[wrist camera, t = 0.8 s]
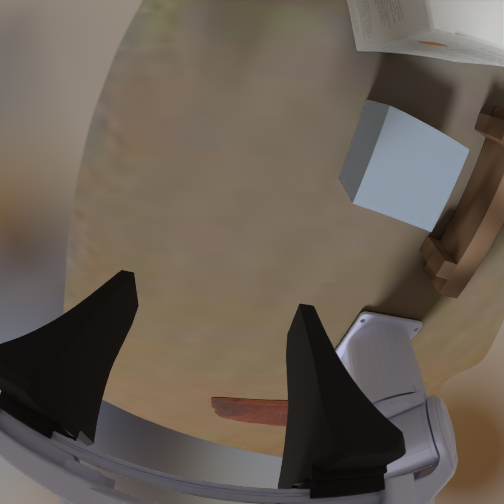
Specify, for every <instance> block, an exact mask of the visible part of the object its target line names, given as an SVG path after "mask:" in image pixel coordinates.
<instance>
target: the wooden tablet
mask: <svg viewBox="0 0 504 504" xmlns="http://www.w3.org/2000/svg"><path fill="white" fill-rule="evenodd" d="M211 403H212V407H213V408H214V409H215V413H216V414H217V415H218V416H220V417H223V418H227V419H231V420H236V421H242V422H248V423H259V424H266V425H275V426H287V414H288V401H282V400H256V399H239V398H212V399H211Z"/></svg>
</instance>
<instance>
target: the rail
mask: <svg viewBox="0 0 504 504" xmlns="http://www.w3.org/2000/svg"><path fill="white" fill-rule="evenodd" d="M475 129H476V130H477V131H478V132H480V133H481V134H483V135H484V136H485V137H486V140H485V142H484V145H483V148H482V151H481V153H480V156H479V159H478V161H477V164H476V166H475V169H474V171H473V173H472V176H471V178H470V181H469V183H468V185H467V187H466V190H465V192H464V194H463V196H462V198H461V200H460V203H459V205H458V207H457V209H456V211H455V213H454V215H453V217H452V219H451V221H450V223H449V225H448V227H447V228H446V230H445V232H444V234H443V236H442V238H441V240H440V241H439V240H437V239H434V238H431V237H429V236H428V237H427V238H426V240H425V242H424V244H423V246H422V248H421V249H420V252H421V253H422V255H423V257H424V258H425V260H426V261H427V264H426V265H425V267H424V269H425V271H426V273H427V274H428V276H429V278H430V280H431V281H432V283H433V285H434V287H435V289H436V290H437V292H438V294H441V295H445V296H449V297H453V298H458V296H459V295H460V293H461V292H462V291H463V289H464V288H465V286H466V285H467V283H468V282H469V280H470V279H471V277H472V276H473V274H474V273H475V271H476V270H477V268H478V267H479V265H480V263H481V262H482V260H483V259H484V257H485V255H486V254H487V252H488V250H489V248H490V247H491V245H492V243H493V241H494V240H495V238H496V236H497V234H498V232H499V230H500V229H501V227H502V225H503V223H504V108H502V107H498V106H496V108H495V111H494V115H493V117H492V116H489V115H486V114H483V113H480V114H479V117H478V120H477V123H476V126H475Z"/></svg>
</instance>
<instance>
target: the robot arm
mask: <svg viewBox="0 0 504 504" xmlns="http://www.w3.org/2000/svg"><path fill="white" fill-rule="evenodd" d="M138 306H139V305H138V299H137V292H136V284H135V277H134V273H133V272H129V271H124V270H121V271H120V272H119V273H117V274H116V275H115V276H114V277H112V278H111V279H110V280H109V281H107V282H106V283H105V284H104V285H102V286H101V287H100V288H99V289H97V290H96V291H95V292H94V293H92V294H91V295H90V296H88V297H87V298H86V299H85V300H83V301H82V302H80V303H79V304H78V305H76V306H75V307H74V308H72V309H71V310H69V311H68V312H66V313H65V314H63V315H62V316H60V317H59V318H57V319H56V320H54V321H52V322H50V323H48V324H46V325H45V326H43V327H41V328H39V329H37V330H35V331H33V332H31V333H29V334H26V335H24V336H22V337H19V338H16V339H14V340H11V341H8V342H5V343H2V344H0V390H1V394H0V456H1V457H2V458H3V459H5V460H6V461H7V462H9V463H10V464H11V465H12V466H14V467H15V468H16V469H18V470H19V471H21V472H22V473H23V474H24V475H26V476H27V477H29V478H30V479H32V480H33V481H35V482H36V483H38V484H39V485H41V486H42V487H44V488H45V489H47V490H49V491H50V492H52V493H54V494H55V495H57V496H59V497H60V498H61V501H60V504H160V503H156V502H152V501H149V500H145V499H142V498H138V497H135V496H132V495H129V494H126V493H123V492H120V491H117V490H115V489H114V485H115V480H113V479H111V478H109V477H107V476H105V475H103V474H101V473H100V472H99V471H96V470H94V469H92V468H90V467H88V466H85V465H83V464H81V463H80V461H79V460H78V459H80V460H82V461H84V462H86V463H89V464H91V465H94V466H96V467H99V468H101V469H103V470H106V471H109V472H111V473H114V474H117V475H120V476H122V477H125V478H128V479H131V480H134V481H137V482H141V483H144V484H147V485H151V486H155V487H158V488H162V489H166V490H170V491H174V492H179V493H183V494H189V495H194V496H199V497H205V498H211V499H218V500H225V501H234V502H244V503H257V504H435V500H434V497H435V496H436V495H437V493H438V492H439V491H440V490H441V489H442V488H443V487H444V486H445V485H446V484H447V482H448V481H449V480H450V479H451V478H452V476H453V475H454V473H455V470H456V466H457V463H458V456H457V452H456V444H455V436H454V431H453V427H452V423H451V420H450V416H449V414H448V411H447V408H446V406H445V404H444V402H443V400H442V399H441V398H439V397H436V396H435V395H432V396H430V397H428V396H427V392H426V388H425V385H424V381H423V378H422V374H421V371H420V368H419V364H418V361H417V358H416V355H415V352H414V349H413V346H412V343H411V340H412V338H413V337H414V336H415V335H416V334H417V332H418V331H419V330H420V329H421V328H422V326H423V324H422V322H421V321H417V320H411V319H405V318H400V317H394V316H389V315H383V314H378V313H373V312H367V311H364V312H362V313H361V314H360V315H359V316H358V318H357V320H356V321H355V322H354V324H353V325H352V327H351V328H350V330H349V331H348V333H347V334H346V336H345V337H344V339H343V340H342V341H341V343H340V344H339V346H338V347H337V348H336V350H335V349H334V347H333V345H332V343H331V342H330V340H329V338H328V336H327V334H326V332H325V329H324V327H323V325H322V323H321V321H320V319H319V316H318V314H317V312H316V310H315V308H314V306H312V305H305V304H299V306H298V309H297V311H296V314H295V317H294V319H293V322H292V324H291V327H290V329H289V332H288V335H287V348H286V364H287V385H288V414H287V426H286V436H285V445H284V453H283V460H282V466H281V473H280V478H279V483H278V489H269V488H254V487H243V486H233V485H226V484H219V483H211V482H206V481H200V480H195V479H189V478H184V477H180V476H176V475H171V474H168V473H164V472H160V471H156V470H152V469H149V468H145V467H142V466H139V465H136V464H132V463H129V462H126V461H123V460H120V459H118V458H115V457H112V456H109V455H107V454H104V453H101V452H99V451H97V450H94V449H92V448H89V447H87V446H89V445H92V444H93V443H94V438H95V431H96V425H97V419H98V414H99V410H100V405H101V401H102V397H103V394H104V390H105V386H106V383H107V380H108V377H109V374H110V371H111V368H112V366H113V363H114V361H115V359H116V357H117V355H118V352H119V350H120V348H121V346H122V344H123V342H124V340H125V338H126V336H127V334H128V332H129V330H130V328H131V325H132V323H133V320H134V317H135V314H136V311H137V309H138ZM362 319H363V320H362ZM69 438H70V439H69ZM71 439H73V440H71ZM76 441H77V442H76ZM78 442H79V443H78ZM80 443H82V444H84V445H82V444H80ZM85 445H86V446H85ZM77 458H78V459H77ZM435 463H436V464H435ZM433 464H434V465H433ZM430 465H432V466H430ZM427 466H430V467H427ZM425 467H427V468H425ZM422 468H425V469H422ZM420 469H422V470H420ZM417 470H419V471H417ZM414 471H417V472H414ZM411 472H413V473H411ZM408 473H410V474H408ZM405 474H406V475H405Z"/></svg>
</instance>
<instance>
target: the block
mask: <svg viewBox="0 0 504 504" xmlns="http://www.w3.org/2000/svg"><path fill="white" fill-rule="evenodd" d="M468 152H469V149H467V148H466V147H464V146H463V145H461V144H460V143H458V142H456V141H455V140H453V139H452V138H450V137H448V136H447V135H445V134H443V133H442V132H440V131H438V130H436V129H435V128H433V127H431V126H429V125H428V124H426V123H424V122H422V121H420V120H418V119H416V118H414V117H413V116H411V115H409V114H407V113H405V112H403V111H401V110H399V109H396V108H394V107H392V106H390V105H387V104H383V103H379V102H375V101H371V100H366V103H365V106H364V109H363V112H362V115H361V117H360V120H359V123H358V126H357V129H356V132H355V135H354V138H353V141H352V143H351V146H350V149H349V152H348V154H347V157H346V160H345V163H344V165H343V168H342V171H341V173H340V176H339V180H340V181H341V183H342V185H343V187H344V189H345V190H346V192H347V194H348V196H349V198H350V200H351V201H352V203H353V204H356V205H359V206H362V207H365V208H367V209H370V210H373V211H376V212H379V213H382V214H385V215H387V216H390V217H393V218H396V219H398V220H401V221H404V222H406V223H409V224H412V225H414V226H417V227H419V228H422V229H424V230H427V231H429V232H432V230H433V228H434V226H435V224H436V222H437V220H438V219H439V217H440V215H441V213H442V211H443V209H444V207H445V205H446V203H447V200H448V198H449V196H450V194H451V192H452V190H453V188H454V185H455V183H456V181H457V179H458V176H459V174H460V172H461V170H462V167H463V165H464V162H465V160H466V157H467V155H468Z"/></svg>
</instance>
